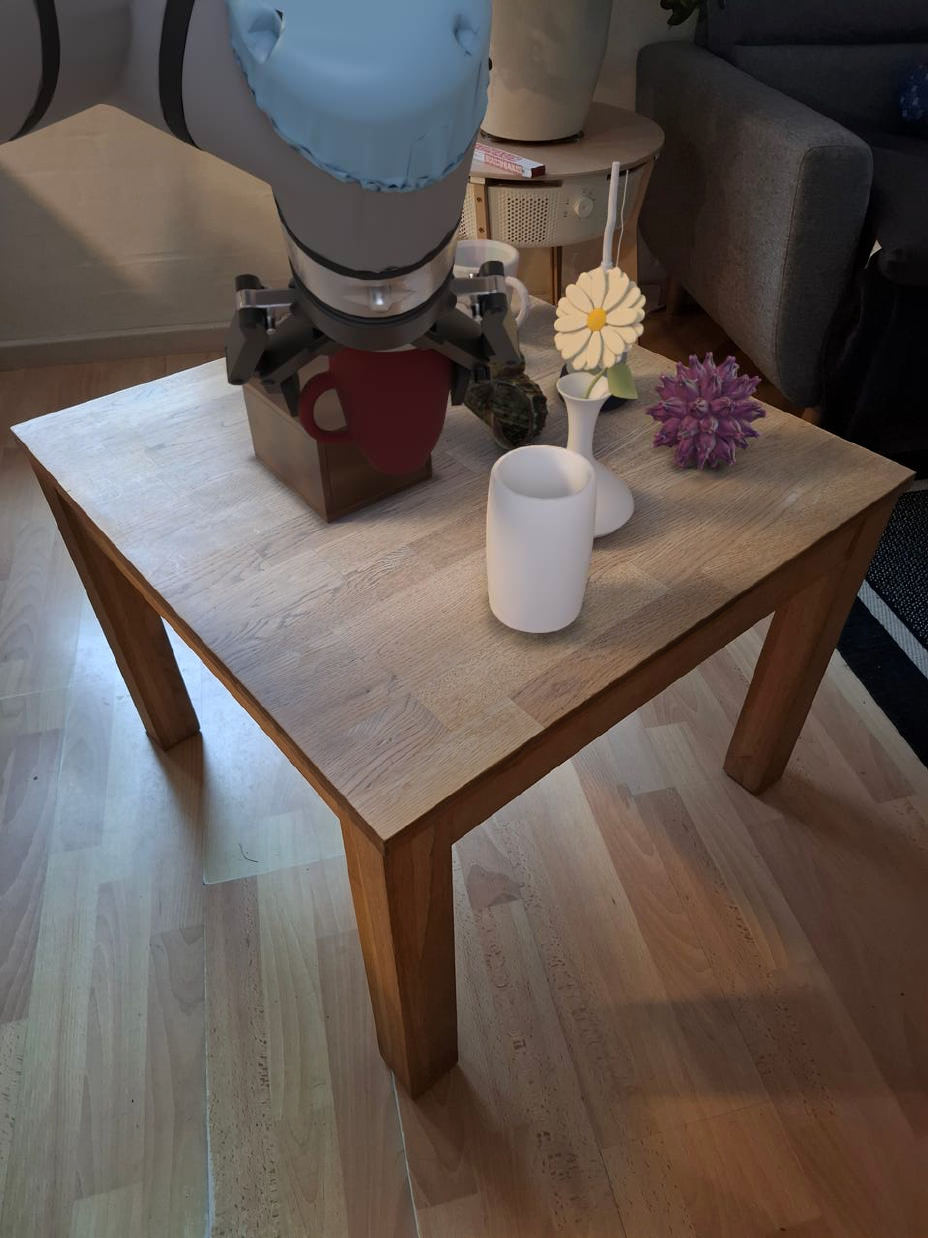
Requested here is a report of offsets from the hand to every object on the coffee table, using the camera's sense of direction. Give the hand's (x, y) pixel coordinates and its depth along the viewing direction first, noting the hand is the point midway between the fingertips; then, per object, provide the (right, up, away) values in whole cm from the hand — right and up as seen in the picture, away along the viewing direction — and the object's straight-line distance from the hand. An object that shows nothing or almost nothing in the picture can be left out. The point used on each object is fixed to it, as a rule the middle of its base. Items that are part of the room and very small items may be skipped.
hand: (375, 391), depth 61 cm
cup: (+12, -15, +14) cm, 24 cm away
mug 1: (0, -5, +1) cm, 5 cm away
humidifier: (+21, +10, +42) cm, 48 cm away
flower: (+30, +1, +32) cm, 44 cm away
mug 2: (+9, +21, +54) cm, 59 cm away
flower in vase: (+17, -6, +24) cm, 30 cm away
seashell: (+10, +4, +36) cm, 37 cm away
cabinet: (-7, 0, +31) cm, 31 cm away
